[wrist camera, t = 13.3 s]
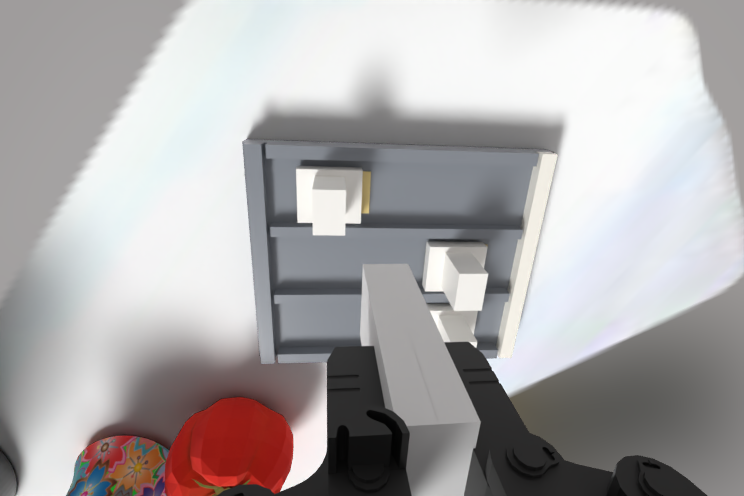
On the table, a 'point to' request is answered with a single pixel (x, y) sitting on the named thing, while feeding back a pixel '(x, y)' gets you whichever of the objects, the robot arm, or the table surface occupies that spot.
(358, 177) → the tab
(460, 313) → the tab
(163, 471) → the mug
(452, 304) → the tab
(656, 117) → the table surface
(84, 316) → the table surface
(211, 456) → the tomato
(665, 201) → the table surface
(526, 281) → the switch bank
